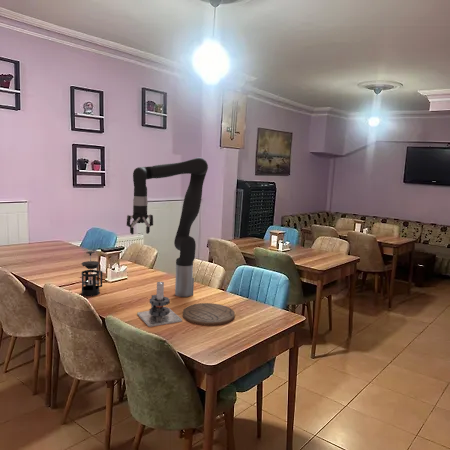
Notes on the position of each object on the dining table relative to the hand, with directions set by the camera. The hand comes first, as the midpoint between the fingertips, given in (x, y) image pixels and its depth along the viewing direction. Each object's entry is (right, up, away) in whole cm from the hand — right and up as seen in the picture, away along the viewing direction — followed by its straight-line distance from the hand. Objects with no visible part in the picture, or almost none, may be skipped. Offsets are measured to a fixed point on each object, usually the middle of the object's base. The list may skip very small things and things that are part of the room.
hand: (139, 233), depth 223 cm
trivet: (+39, -39, -26) cm, 61 cm away
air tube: (+16, -38, -33) cm, 52 cm away
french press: (-25, -32, -4) cm, 41 cm away
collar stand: (+16, -39, -33) cm, 53 cm away
